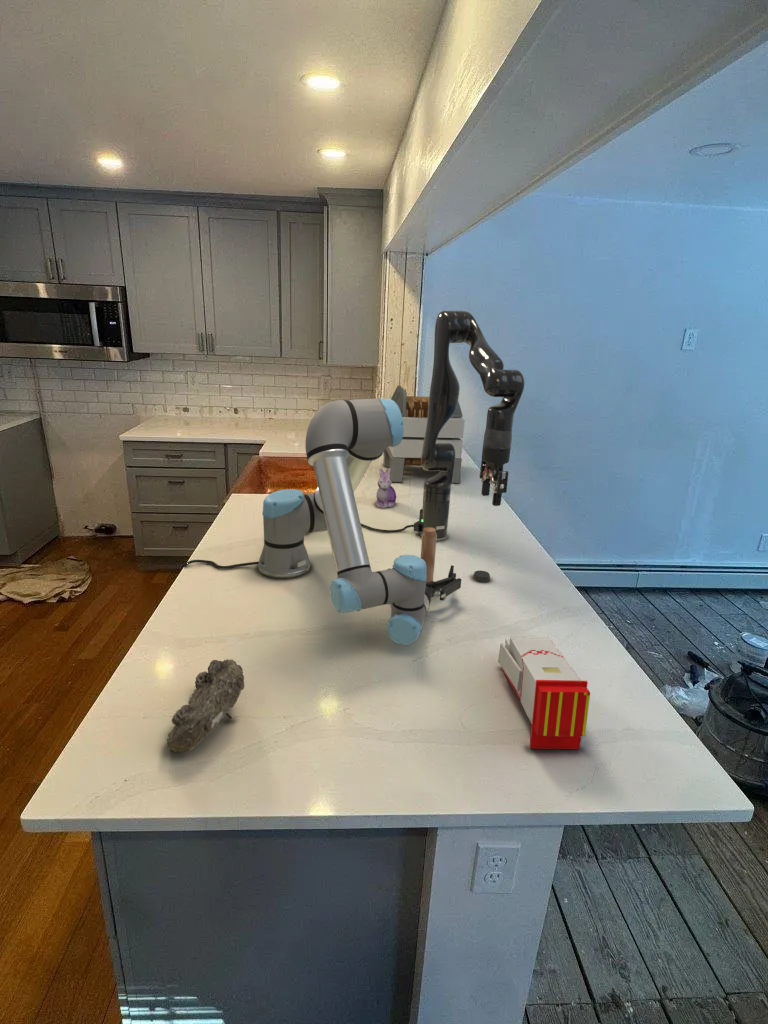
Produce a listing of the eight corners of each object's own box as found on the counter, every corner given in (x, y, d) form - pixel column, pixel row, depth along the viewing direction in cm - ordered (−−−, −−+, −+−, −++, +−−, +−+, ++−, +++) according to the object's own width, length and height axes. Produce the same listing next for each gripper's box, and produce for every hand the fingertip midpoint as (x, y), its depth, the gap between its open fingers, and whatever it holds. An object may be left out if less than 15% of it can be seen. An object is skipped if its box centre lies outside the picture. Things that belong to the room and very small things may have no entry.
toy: (546, 620, 128) (599, 688, 99) (541, 675, 131) (591, 756, 102) (493, 619, 128) (531, 687, 99) (489, 674, 131) (524, 755, 101)
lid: (488, 575, 171) (489, 571, 171) (490, 583, 167) (490, 577, 166) (473, 574, 172) (473, 569, 171) (473, 581, 167) (474, 576, 166)
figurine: (380, 509, 222) (382, 473, 217) (369, 501, 231) (370, 466, 226) (401, 507, 226) (404, 470, 221) (389, 499, 235) (391, 464, 230)
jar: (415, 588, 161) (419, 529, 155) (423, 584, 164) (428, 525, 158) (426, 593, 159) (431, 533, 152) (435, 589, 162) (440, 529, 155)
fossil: (192, 660, 117) (244, 628, 112) (224, 691, 120) (276, 661, 115) (142, 746, 98) (202, 712, 93) (182, 779, 101) (242, 748, 96)
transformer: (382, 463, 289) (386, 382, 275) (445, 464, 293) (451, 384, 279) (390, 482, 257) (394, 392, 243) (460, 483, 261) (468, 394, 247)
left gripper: (365, 607, 145) (384, 572, 164) (463, 622, 140) (471, 584, 159) (366, 580, 142) (386, 548, 162) (466, 595, 137) (473, 560, 157)
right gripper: (475, 438, 161) (469, 492, 166) (493, 451, 148) (487, 509, 153) (499, 438, 162) (493, 492, 168) (520, 450, 149) (513, 508, 155)
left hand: (428, 566), depth 161 cm, fingers open, 13 cm apart
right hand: (490, 500), depth 161 cm, fingers open, 8 cm apart
